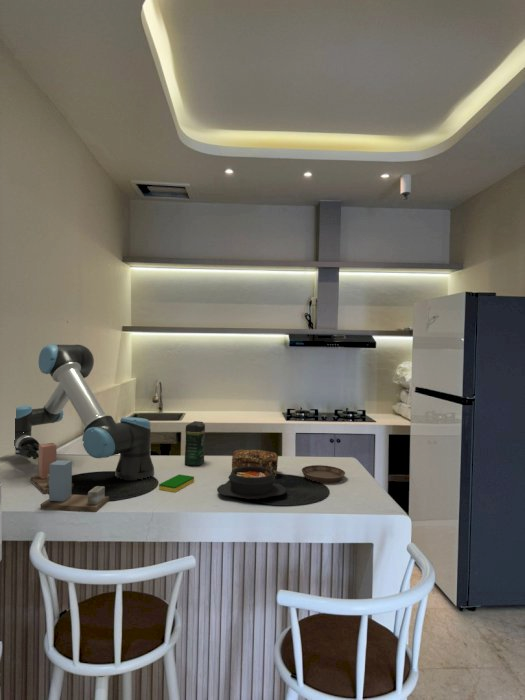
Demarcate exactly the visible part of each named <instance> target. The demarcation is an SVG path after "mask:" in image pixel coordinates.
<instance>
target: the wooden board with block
mask: <svg viewBox="0 0 525 700" xmlns="http://www.w3.org/2000/svg"><path fill="white" fill-rule="evenodd" d="M105 491H106V487H105V486H101V485H100V486H99V485H96V486H94V487H92V489H90V490H89V491H88V492H87V494H73V493H72V494H71V497H70V498H68V499H67V500H65V501H64V502H63V501H49V498H48V499H47V500H45V501H43V502H42V503H40V507H39V509H40V510H57V511H74V512H92V513H93V512H94V513H97V512H98V511H99V510H100V509H101V508H102V507H104V506H105V505H106V504H107V503H108V502H109V501H110V496H109V495H106V493H105Z"/></svg>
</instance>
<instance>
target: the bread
mask: <svg viewBox="0 0 525 700" xmlns="http://www.w3.org/2000/svg"><path fill="white" fill-rule="evenodd" d="M278 462H279V456H278V455H277V453H276V452H274V451H268V450H267V451H266V450H262V449H236V450H234V452H233V453H232V458H231V471H232V470H233V469H236V468H239V467H245V466H257V467H264V468H267V469H270V470H271V471H272V472H273V475H274V476H276V477H277V473H278V464H279V463H278Z"/></svg>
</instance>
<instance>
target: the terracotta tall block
mask: <svg viewBox="0 0 525 700" xmlns="http://www.w3.org/2000/svg"><path fill="white" fill-rule="evenodd" d="M55 461H57V444H55V443H53V442H49V443H48V442H47V443H39V459H38V468H37V469H38V472H37V473H38V476H39V477H41V478H42V479H45V478H47V475H49V468H50V464H51V463H53V462H55Z"/></svg>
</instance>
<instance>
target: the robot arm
mask: <svg viewBox="0 0 525 700" xmlns="http://www.w3.org/2000/svg"><path fill="white" fill-rule="evenodd" d="M94 363H95V360H94V355H93V353H92V351H91V350H90V349H89V348H88V347H87V346H84V345H82V344H55V343H54V344H48V345H47V344H46V345H45V346H43V347H42V349H41V350H40V352H39V356H38V368H39V370H40V372H41V373H42V374H44V375H48V374H49V375H50V376H51V379H52V381H55V382H56V383H58V385H57V386H56V388H55V389H54V390H53V392H52V394H51V395H50V397H49V399H48V400H47V402H46V403H45V404H44V406H43V407H40V408H33V407H32V406H31V405H19V406H20V407H17V408H16V418H15V440H14V446H15V448H14V449H15V451H14V453H15V455H17V456H18V455H19V456H21V457H25V458H28V459H29V458H32V459H33V460H36V459H38V460H39V444H40V443H39V441H38V440H37V439H36V438H35V437H33V436H32V427H34V426H40V425H47V424H55V423H57V422H60V421H62V420H63V416H64V410H63V409H64V408H65V406H66V405H67V403H68V402H69V401H70V403H71V405H72V406H73V408H74V410H75V411H76V413H77V415H78V417H79V418H80V420H81V422H82V424H83V425H84V429H83V432H82V433H83V434H82V438H81V439H82V446H83V449H84V451H85V452H86V453H87V454H88V455H89V456H90V457H92V458H94V459H106V458H109V457H112V456H116V455H119V458H118V462H117V465H116V468H115V471H114V472H115V473H114V475H115V476H116V477H117V478H116V477H115V476H114V477H115V478H116V479H118V478H120V479H119V480H121V479H124V480H123V481H138V480H137V479H141V480H144V479H143V478H146V479H148V478H147V477H149V478H151V477H153V476H154V475H155V467H154V464H153V461H152V458H151V431H152V429H151V421H150V420H149V419H147V418H144V417H143V418H142V417H135V416H134V417H132V416H131V417H129V416H124V417H121V418H120V421H119V422H116V421H115V419H114V418H113V416H112V415H109V414H106V413H105V411H104V409H103V408H102V406H101V403H99V401H98V399H97V398H96V396H95V395H94V393H93V391H92V389H90V386H89V384H88V383H87V381H86V380H85V378H87V377H89V376H90V374H91V372H92V370H93V367H94ZM23 432H24V433H23ZM150 476H151V477H150Z"/></svg>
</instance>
